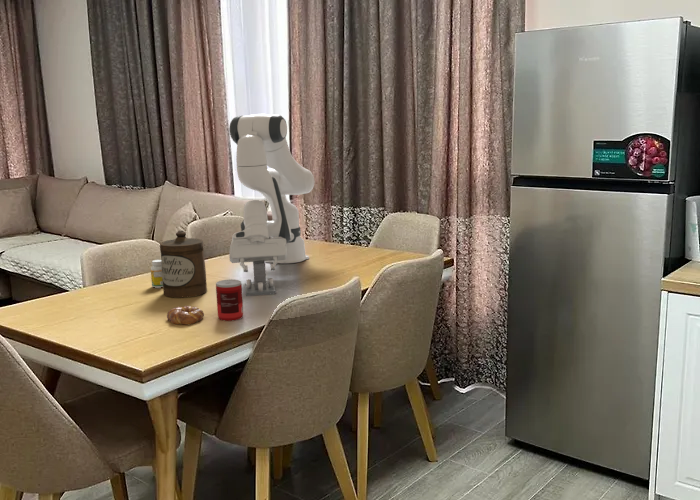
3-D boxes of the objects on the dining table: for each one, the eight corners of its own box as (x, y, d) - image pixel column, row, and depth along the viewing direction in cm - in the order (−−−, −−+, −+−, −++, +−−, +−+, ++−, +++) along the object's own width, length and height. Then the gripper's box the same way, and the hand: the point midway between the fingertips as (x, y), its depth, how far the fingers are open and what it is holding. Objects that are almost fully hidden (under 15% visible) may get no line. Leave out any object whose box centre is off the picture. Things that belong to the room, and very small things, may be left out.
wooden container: (154, 296, 235) (149, 233, 230) (179, 286, 248) (175, 226, 244) (191, 299, 230) (187, 235, 225) (215, 289, 243) (211, 228, 239)
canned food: (233, 312, 213) (231, 278, 211) (248, 317, 207) (246, 282, 205) (212, 317, 208) (210, 282, 206) (227, 322, 202) (225, 286, 200)
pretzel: (206, 324, 202) (205, 312, 201) (168, 328, 199) (167, 315, 198) (202, 313, 213) (202, 302, 213) (166, 317, 210) (166, 305, 210)
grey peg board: (245, 286, 245) (244, 276, 244) (273, 285, 247) (272, 274, 246) (246, 295, 233) (245, 284, 232) (275, 294, 234) (275, 282, 233)
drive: (253, 285, 243) (252, 260, 241) (265, 284, 243) (264, 260, 242) (254, 290, 236) (253, 264, 234) (266, 289, 236) (265, 264, 235)
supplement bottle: (165, 288, 246) (163, 262, 244) (150, 288, 246) (148, 262, 244) (168, 284, 251) (166, 259, 249) (154, 285, 251) (152, 259, 249)
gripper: (285, 241, 250) (288, 273, 242) (229, 244, 246) (230, 276, 239) (286, 231, 244) (289, 263, 237) (228, 234, 241) (229, 267, 233)
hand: (259, 270), depth 238 cm, fingers open, 8 cm apart
